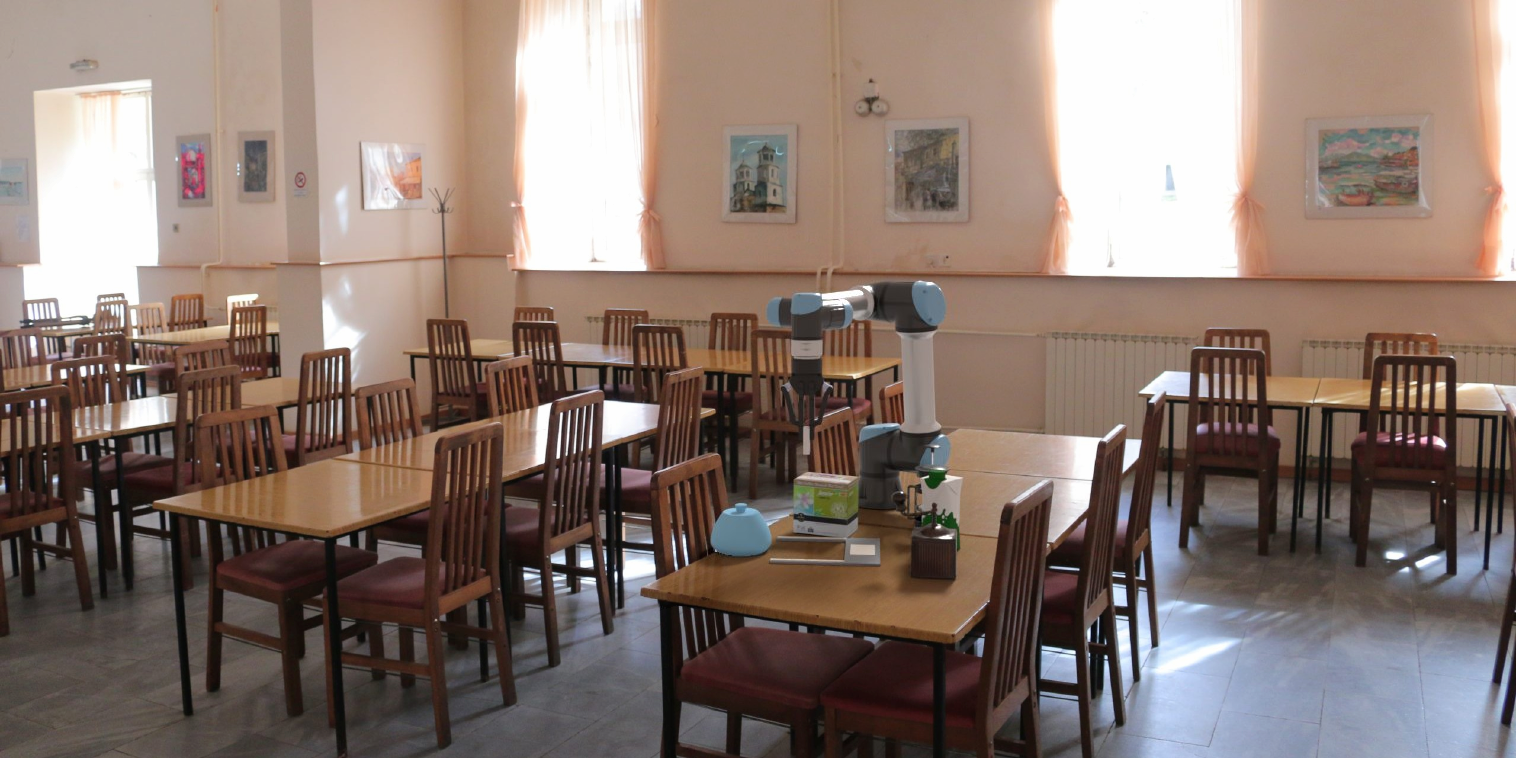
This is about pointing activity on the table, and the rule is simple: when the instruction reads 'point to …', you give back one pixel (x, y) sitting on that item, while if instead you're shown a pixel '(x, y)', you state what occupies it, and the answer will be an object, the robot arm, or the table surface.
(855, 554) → the label board
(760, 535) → the sugar bowl
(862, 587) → the table surface
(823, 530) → the tea box
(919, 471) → the french press
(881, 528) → the table surface
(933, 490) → the milk carton
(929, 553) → the brown manual coffee grinder
